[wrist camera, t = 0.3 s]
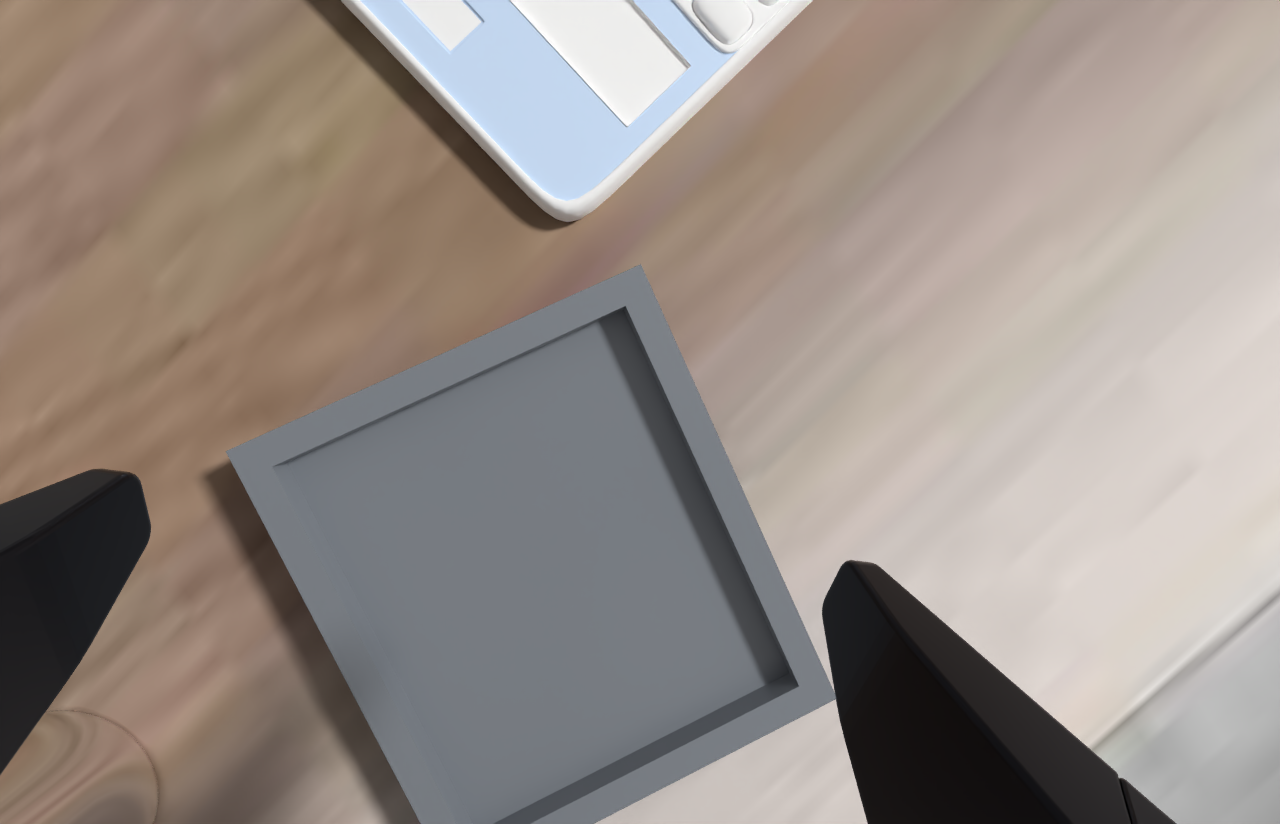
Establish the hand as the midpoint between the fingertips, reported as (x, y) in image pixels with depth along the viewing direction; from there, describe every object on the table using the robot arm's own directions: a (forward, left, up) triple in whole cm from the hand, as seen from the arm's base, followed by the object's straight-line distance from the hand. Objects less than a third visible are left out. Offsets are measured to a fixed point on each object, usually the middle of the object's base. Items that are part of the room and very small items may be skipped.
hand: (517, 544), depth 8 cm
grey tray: (-4, +2, -14) cm, 15 cm away
